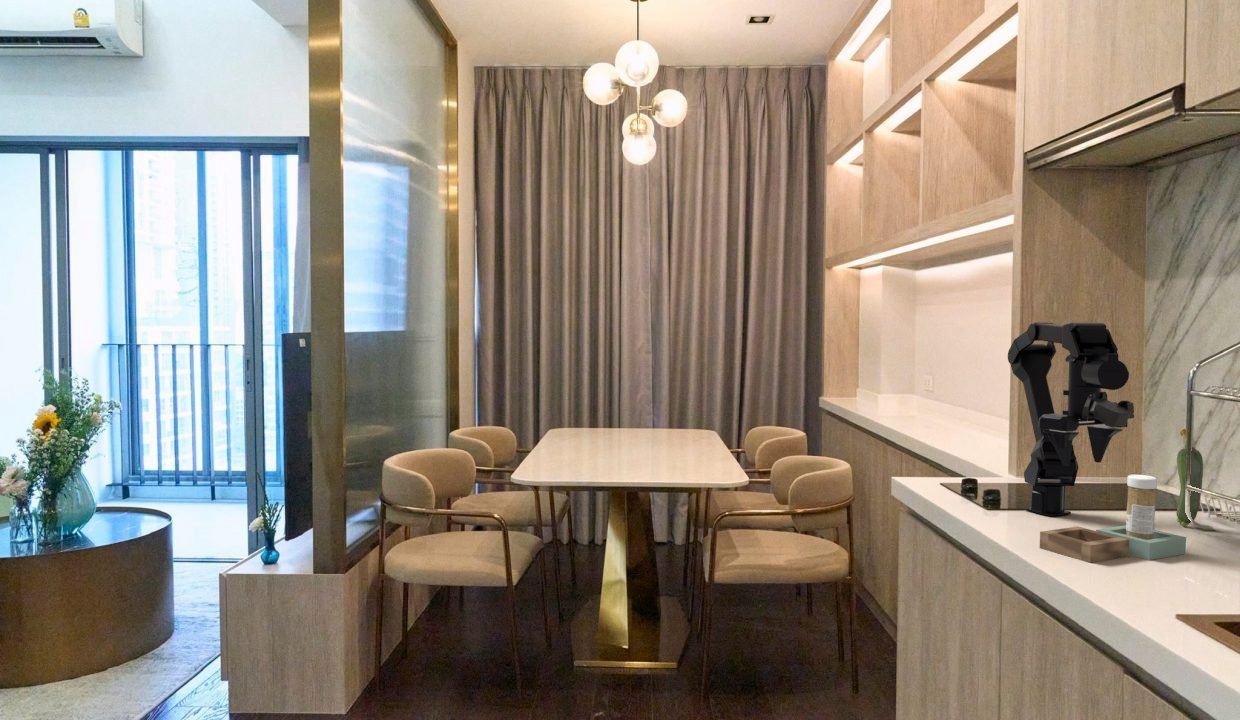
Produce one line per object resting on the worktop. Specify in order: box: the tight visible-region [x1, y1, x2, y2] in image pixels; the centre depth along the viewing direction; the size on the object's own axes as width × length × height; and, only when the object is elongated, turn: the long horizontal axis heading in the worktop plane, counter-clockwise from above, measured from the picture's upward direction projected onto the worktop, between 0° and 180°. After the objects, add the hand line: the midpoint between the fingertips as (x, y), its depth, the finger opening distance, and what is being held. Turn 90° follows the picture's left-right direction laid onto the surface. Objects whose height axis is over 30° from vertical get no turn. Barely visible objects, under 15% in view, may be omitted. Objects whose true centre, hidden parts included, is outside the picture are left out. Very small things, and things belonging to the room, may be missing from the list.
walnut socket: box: [1039, 526, 1130, 563], centre depth 150 cm, size 10×10×3 cm
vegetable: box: [1175, 428, 1204, 528], centre depth 168 cm, size 4×4×20 cm
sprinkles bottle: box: [1125, 474, 1158, 540], centre depth 152 cm, size 5×5×13 cm
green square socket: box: [1095, 524, 1187, 561], centre depth 152 cm, size 10×10×3 cm
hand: (1082, 463), depth 166 cm, fingers open, 9 cm apart
